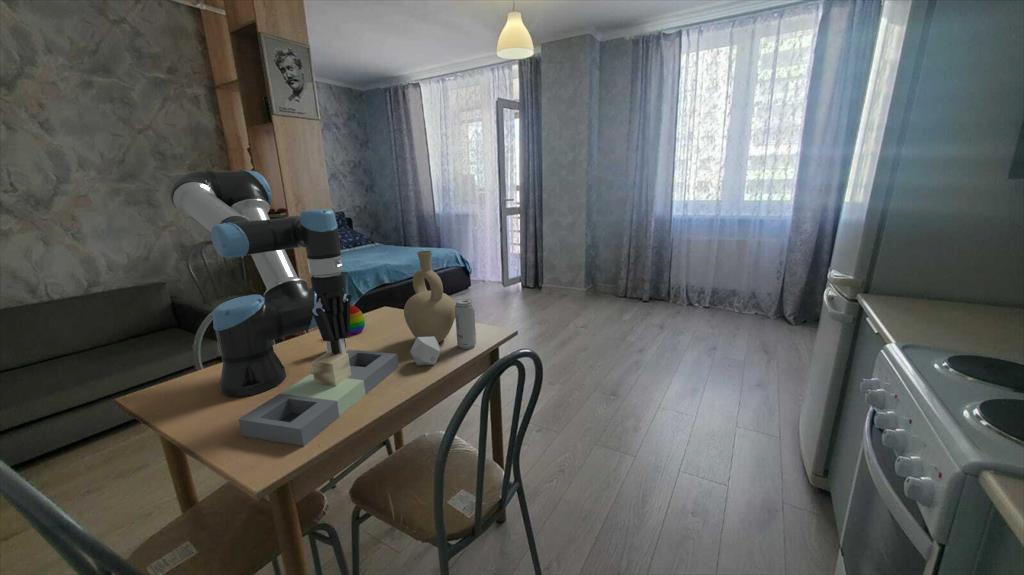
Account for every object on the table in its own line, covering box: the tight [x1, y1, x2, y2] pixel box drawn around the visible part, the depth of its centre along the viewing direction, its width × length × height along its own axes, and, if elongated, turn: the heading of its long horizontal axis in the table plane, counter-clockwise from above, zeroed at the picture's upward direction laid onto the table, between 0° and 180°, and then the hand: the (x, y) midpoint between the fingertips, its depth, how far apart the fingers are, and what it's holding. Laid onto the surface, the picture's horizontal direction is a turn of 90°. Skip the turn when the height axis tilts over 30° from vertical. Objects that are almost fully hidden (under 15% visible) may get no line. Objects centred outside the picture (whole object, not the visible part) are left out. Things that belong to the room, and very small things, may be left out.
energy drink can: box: [455, 298, 477, 350], centre depth 128 cm, size 6×6×15 cm
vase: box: [403, 250, 456, 344], centre depth 132 cm, size 17×17×30 cm
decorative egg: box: [346, 304, 366, 336], centre depth 145 cm, size 8×8×10 cm
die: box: [409, 336, 442, 366], centre depth 118 cm, size 8×9×10 cm
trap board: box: [238, 349, 400, 447], centre depth 102 cm, size 16×37×4 cm, turn 165°
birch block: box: [310, 352, 351, 386], centre depth 102 cm, size 6×6×6 cm
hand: (341, 362), depth 105 cm, fingers closed
